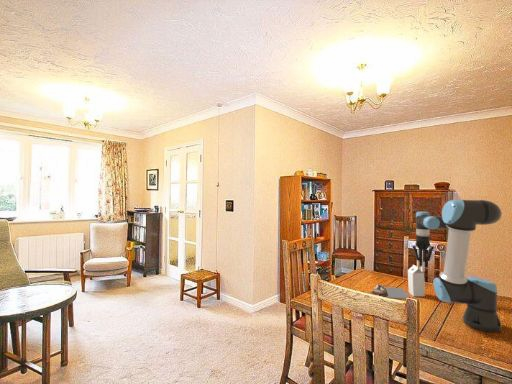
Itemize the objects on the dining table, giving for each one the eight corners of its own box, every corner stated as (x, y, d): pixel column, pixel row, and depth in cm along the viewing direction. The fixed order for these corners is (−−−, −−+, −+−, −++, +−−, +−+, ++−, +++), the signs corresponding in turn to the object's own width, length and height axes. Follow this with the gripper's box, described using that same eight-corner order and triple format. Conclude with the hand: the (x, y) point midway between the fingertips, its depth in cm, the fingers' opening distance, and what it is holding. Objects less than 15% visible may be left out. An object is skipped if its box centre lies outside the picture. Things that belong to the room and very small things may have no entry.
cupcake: (371, 297, 174) (372, 282, 174) (388, 300, 169) (388, 284, 169) (369, 302, 165) (369, 286, 165) (387, 306, 160) (387, 289, 160)
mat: (413, 299, 170) (413, 299, 170) (383, 297, 174) (383, 296, 174) (402, 288, 190) (402, 288, 190) (376, 287, 194) (376, 286, 194)
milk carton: (419, 292, 182) (418, 264, 183) (425, 296, 175) (423, 267, 176) (408, 292, 183) (407, 264, 183) (413, 296, 176) (412, 267, 176)
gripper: (431, 234, 181) (431, 270, 181) (409, 234, 184) (409, 269, 184) (436, 236, 174) (436, 273, 174) (413, 235, 176) (413, 272, 176)
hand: (422, 271), depth 179 cm, fingers closed
